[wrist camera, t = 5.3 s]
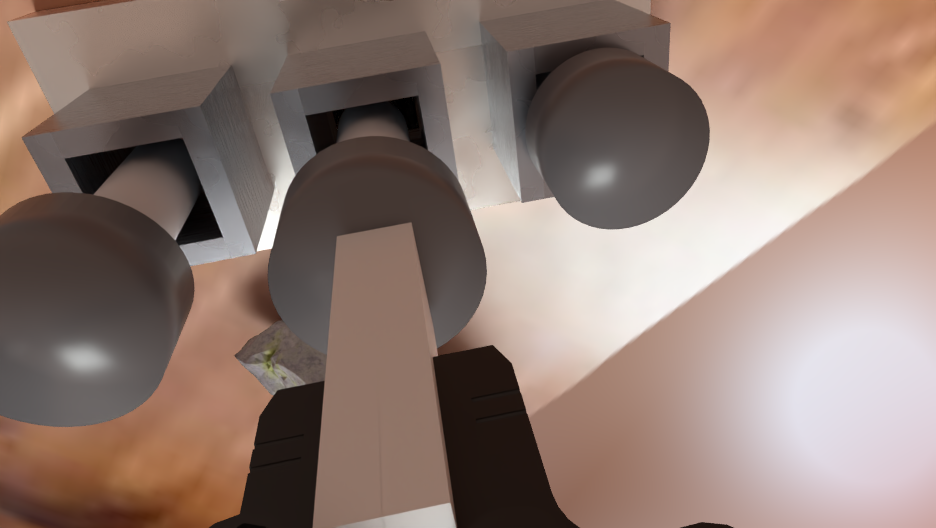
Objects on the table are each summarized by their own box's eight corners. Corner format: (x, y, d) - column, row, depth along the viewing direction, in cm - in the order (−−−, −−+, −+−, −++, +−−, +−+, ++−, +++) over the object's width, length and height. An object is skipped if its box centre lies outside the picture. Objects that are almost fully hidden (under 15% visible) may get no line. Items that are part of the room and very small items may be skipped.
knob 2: (324, 202, 22) (303, 381, 14) (287, 77, 20) (236, 205, 12) (447, 179, 22) (497, 342, 14) (426, 52, 20) (472, 161, 12)
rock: (530, 415, 36) (562, 512, 30) (435, 474, 38) (448, 578, 32) (355, 242, 28) (353, 329, 23) (243, 325, 30) (215, 427, 24)
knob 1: (130, 239, 22) (-7, 445, 14) (68, 115, 19) (-145, 275, 11) (258, 215, 22) (199, 403, 14) (213, 90, 20) (108, 229, 11)
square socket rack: (150, 250, 27) (91, 350, 21) (34, 11, 22) (-90, 56, 16) (629, 159, 28) (700, 230, 22) (631, -87, 23) (726, -81, 17)
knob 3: (492, 133, 26) (552, 242, 18) (478, 20, 23) (541, 86, 15) (596, 114, 26) (703, 213, 18) (594, -1, 24) (716, 54, 15)
